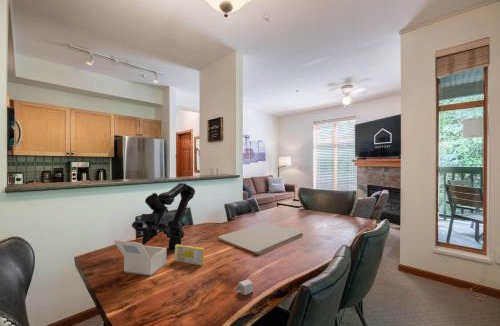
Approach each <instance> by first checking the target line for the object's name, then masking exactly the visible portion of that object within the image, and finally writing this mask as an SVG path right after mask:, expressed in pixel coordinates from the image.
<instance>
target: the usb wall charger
mask: <svg viewBox="0 0 500 326" xmlns="http://www.w3.org/2000/svg"><path fill="white" fill-rule="evenodd" d="M233 291H236V294H241V295H242V294H243V295H245V296H246V295H249V294H252V293H253V292H254V283H253V281H251V280H250V279H248V278H247V279H245V280H242V281H240V282H238V287H236V288H234V289H233ZM251 292H252V293H251ZM243 295H242V296H243Z"/></svg>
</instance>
